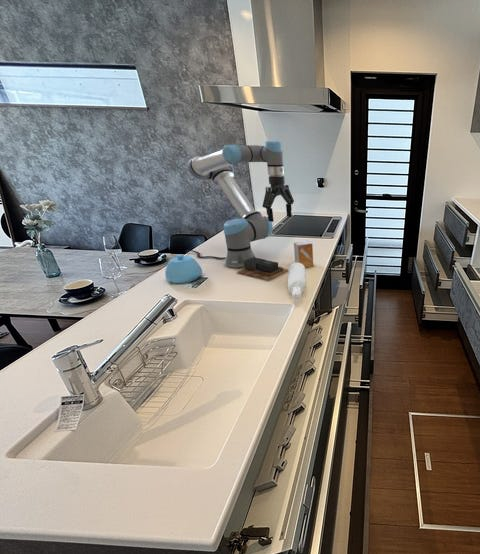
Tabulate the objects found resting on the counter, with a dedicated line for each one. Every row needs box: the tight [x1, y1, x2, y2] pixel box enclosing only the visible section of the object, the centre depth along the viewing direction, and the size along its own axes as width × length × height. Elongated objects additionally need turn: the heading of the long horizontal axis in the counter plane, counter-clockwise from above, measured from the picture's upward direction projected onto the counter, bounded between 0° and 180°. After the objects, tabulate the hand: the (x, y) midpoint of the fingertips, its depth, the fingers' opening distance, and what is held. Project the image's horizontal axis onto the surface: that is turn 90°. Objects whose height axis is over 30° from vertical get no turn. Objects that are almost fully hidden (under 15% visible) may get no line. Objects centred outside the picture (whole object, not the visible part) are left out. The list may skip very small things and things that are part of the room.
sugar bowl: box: [164, 253, 203, 284], centre depth 142 cm, size 15×15×12 cm
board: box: [237, 256, 289, 282], centre depth 153 cm, size 20×14×6 cm
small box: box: [293, 240, 314, 269], centre depth 161 cm, size 8×6×13 cm
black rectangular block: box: [257, 259, 280, 273], centre depth 151 cm, size 8×6×5 cm
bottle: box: [287, 262, 307, 303], centre depth 134 cm, size 8×8×30 cm
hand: (280, 218), depth 156 cm, fingers open, 13 cm apart
